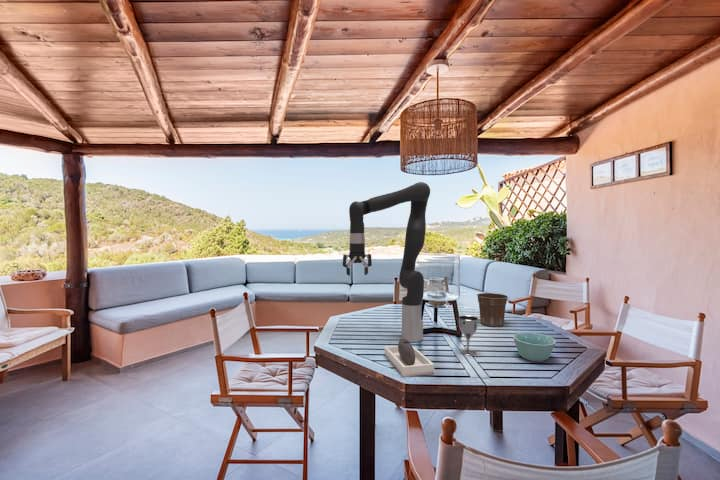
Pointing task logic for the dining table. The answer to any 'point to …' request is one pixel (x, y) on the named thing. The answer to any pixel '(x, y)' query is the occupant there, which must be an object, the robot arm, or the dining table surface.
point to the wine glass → (468, 331)
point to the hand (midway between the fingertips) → (357, 275)
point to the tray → (418, 368)
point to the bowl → (534, 346)
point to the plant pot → (492, 309)
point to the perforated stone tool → (406, 351)
